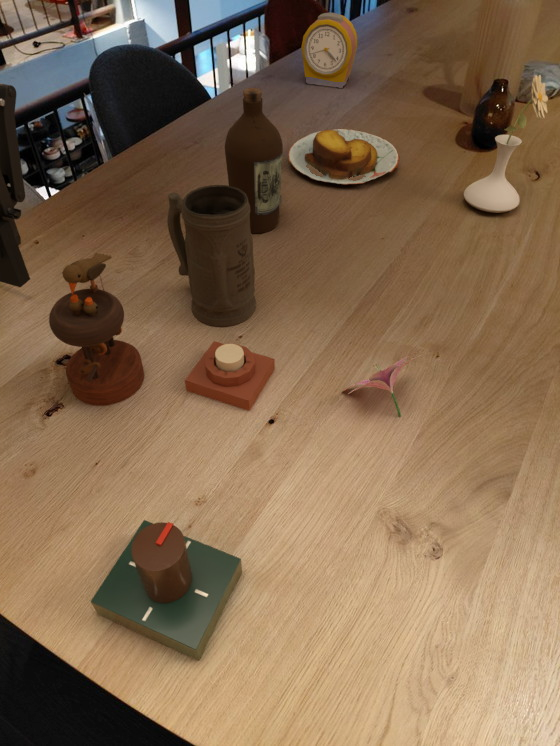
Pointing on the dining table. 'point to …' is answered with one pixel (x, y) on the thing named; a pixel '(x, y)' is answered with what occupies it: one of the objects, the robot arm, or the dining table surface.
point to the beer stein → (215, 252)
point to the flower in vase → (505, 163)
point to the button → (229, 357)
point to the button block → (230, 378)
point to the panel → (178, 618)
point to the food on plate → (343, 156)
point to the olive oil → (256, 162)
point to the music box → (95, 338)
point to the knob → (162, 562)
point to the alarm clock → (329, 48)
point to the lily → (384, 378)
